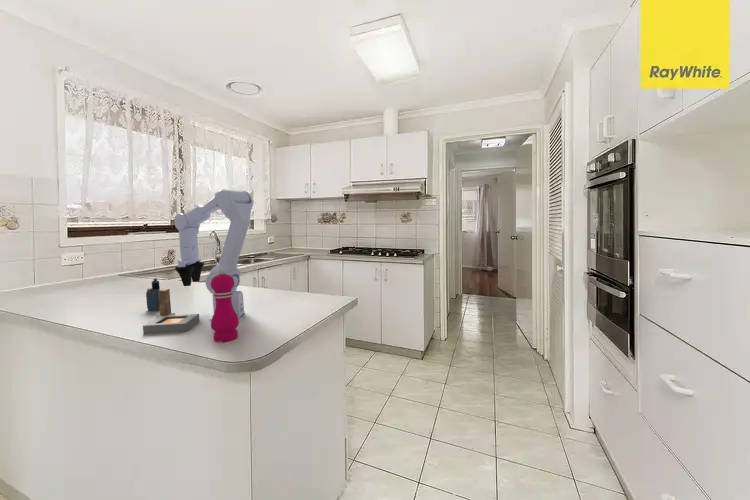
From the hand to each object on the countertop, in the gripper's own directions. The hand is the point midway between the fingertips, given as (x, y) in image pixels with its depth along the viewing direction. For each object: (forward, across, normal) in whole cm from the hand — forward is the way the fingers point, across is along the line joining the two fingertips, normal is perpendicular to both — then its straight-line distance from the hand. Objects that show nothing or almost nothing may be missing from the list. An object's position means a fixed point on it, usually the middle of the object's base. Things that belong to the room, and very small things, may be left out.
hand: (191, 283), depth 119 cm
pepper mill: (+11, +31, +21) cm, 39 cm away
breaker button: (+10, +18, +1) cm, 21 cm away
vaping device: (+11, -5, -16) cm, 20 cm away
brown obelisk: (+10, +7, -6) cm, 14 cm away
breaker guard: (+10, +18, +1) cm, 21 cm away
